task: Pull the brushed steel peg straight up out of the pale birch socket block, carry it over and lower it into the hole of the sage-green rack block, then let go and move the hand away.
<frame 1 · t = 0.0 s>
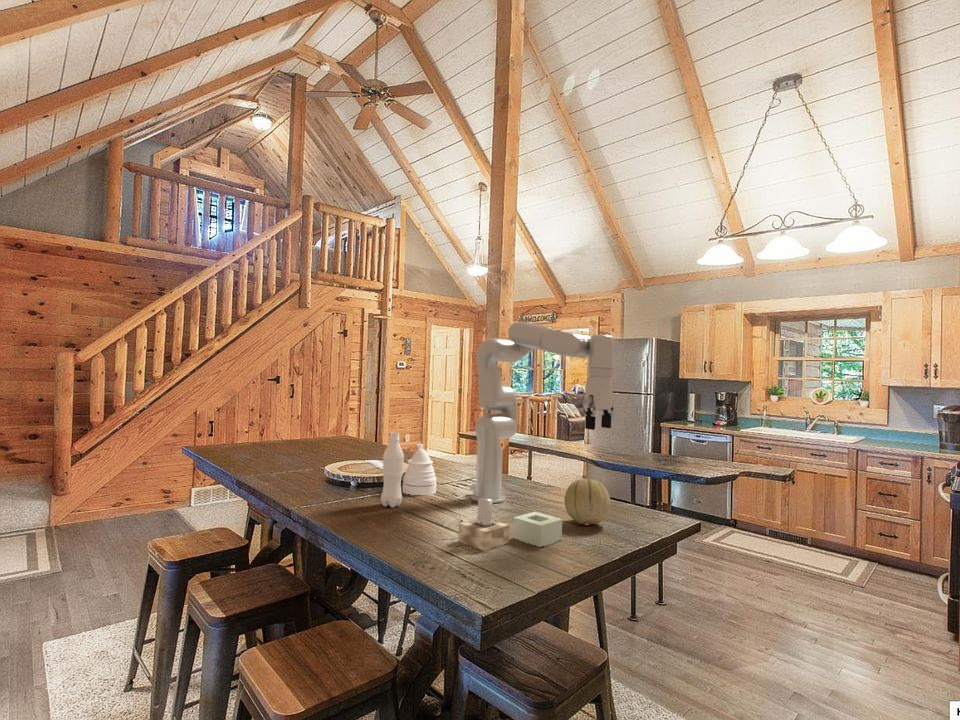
hand: (598, 428, 162), 31 cm above the table, tool pointing down, fingers open, 9 cm apart
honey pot: (419, 492, 199), on the table
rack block: (537, 539, 147), on the table
cantaloupe: (586, 524, 165), on the table
socket block: (483, 542, 143), on the table
steel peg: (484, 520, 143), in the socket block
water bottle: (391, 506, 176), on the table
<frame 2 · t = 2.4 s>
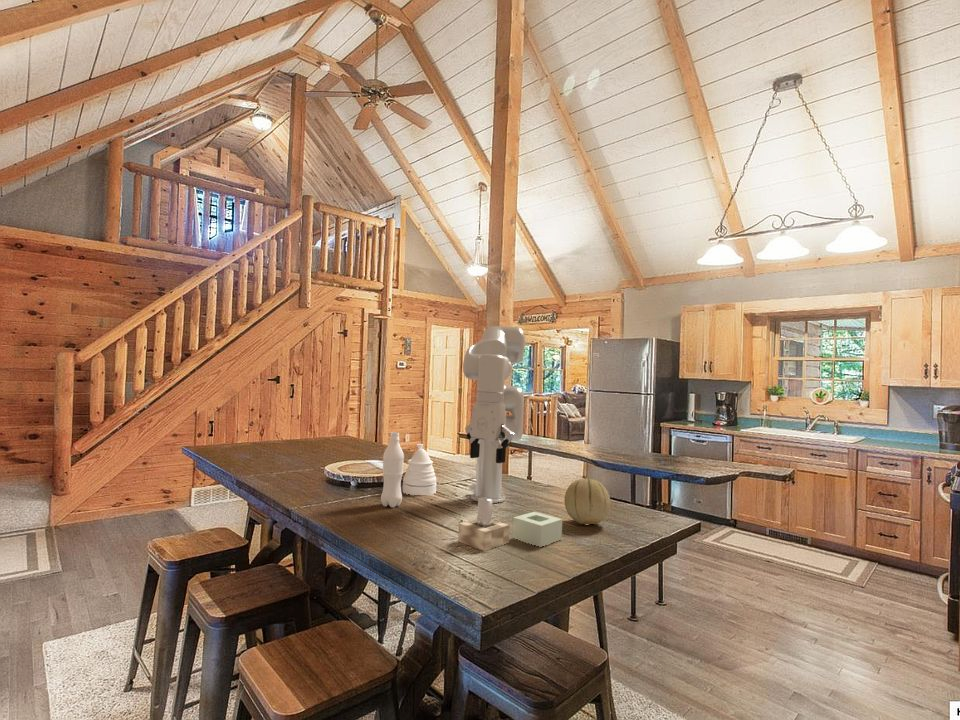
hand: (487, 460, 143), 23 cm above the table, tool pointing down, fingers open, 9 cm apart
nothing on the table moved.
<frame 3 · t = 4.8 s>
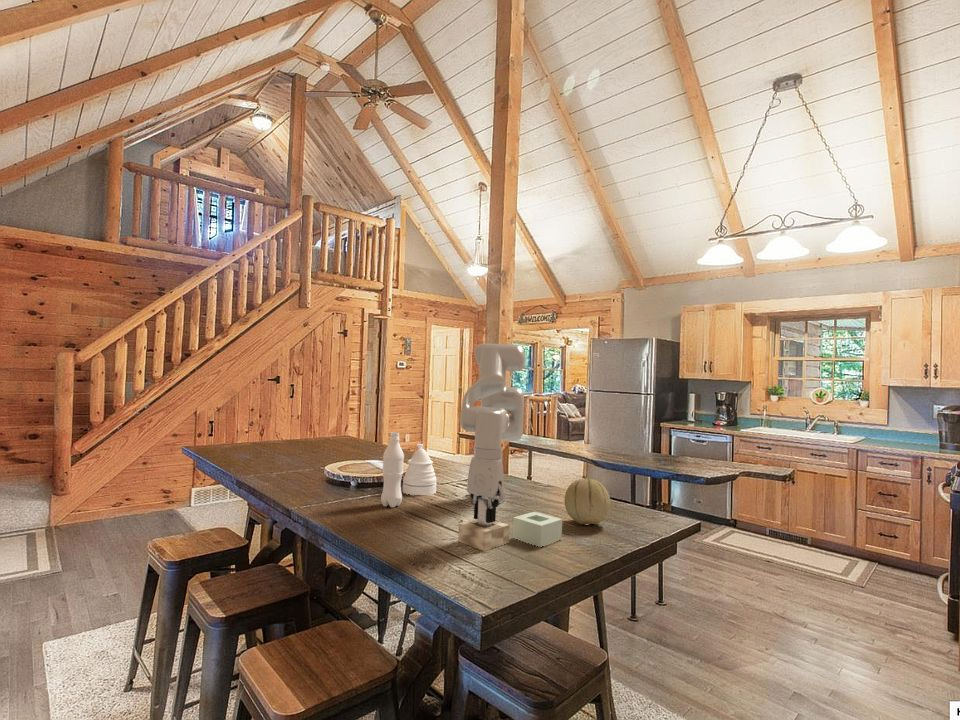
hand: (484, 519, 143), 6 cm above the table, tool pointing down, fingers closed on steel peg, 4 cm apart
steel peg: (484, 520, 143), in the socket block, touching gripper
everything else where it was.
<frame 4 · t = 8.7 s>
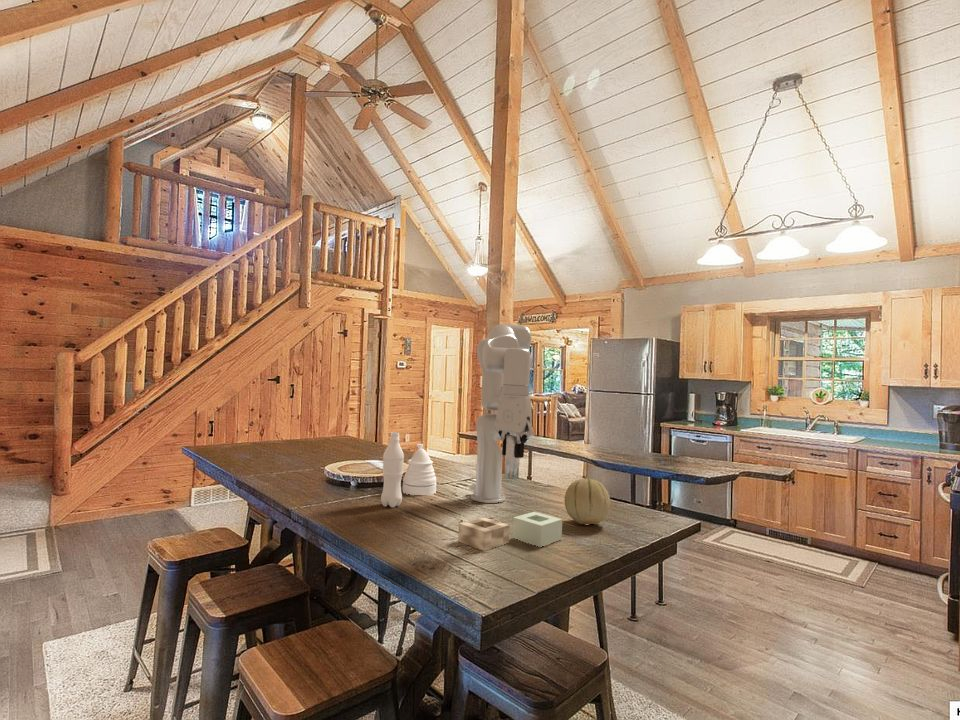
hand: (512, 455, 146), 24 cm above the table, tool pointing down, fingers closed on steel peg, 4 cm apart
steel peg: (512, 456, 146), point 24 cm above the table, touching gripper
everything else where it was.
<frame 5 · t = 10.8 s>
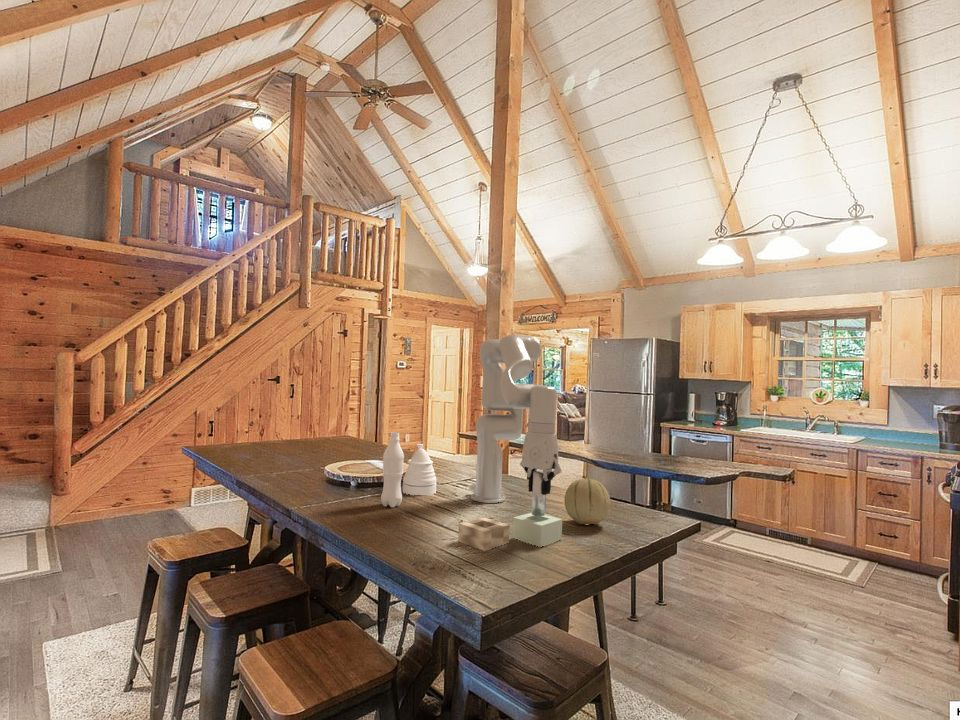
hand: (539, 491, 148), 14 cm above the table, tool pointing down, fingers closed on steel peg, 4 cm apart
steel peg: (539, 492, 148), point 13 cm above the table, touching gripper
everything else where it was.
when the fingers open (9 cm above the table, at t = 12.5 s): steel peg drops 2 cm, resting in rack block.
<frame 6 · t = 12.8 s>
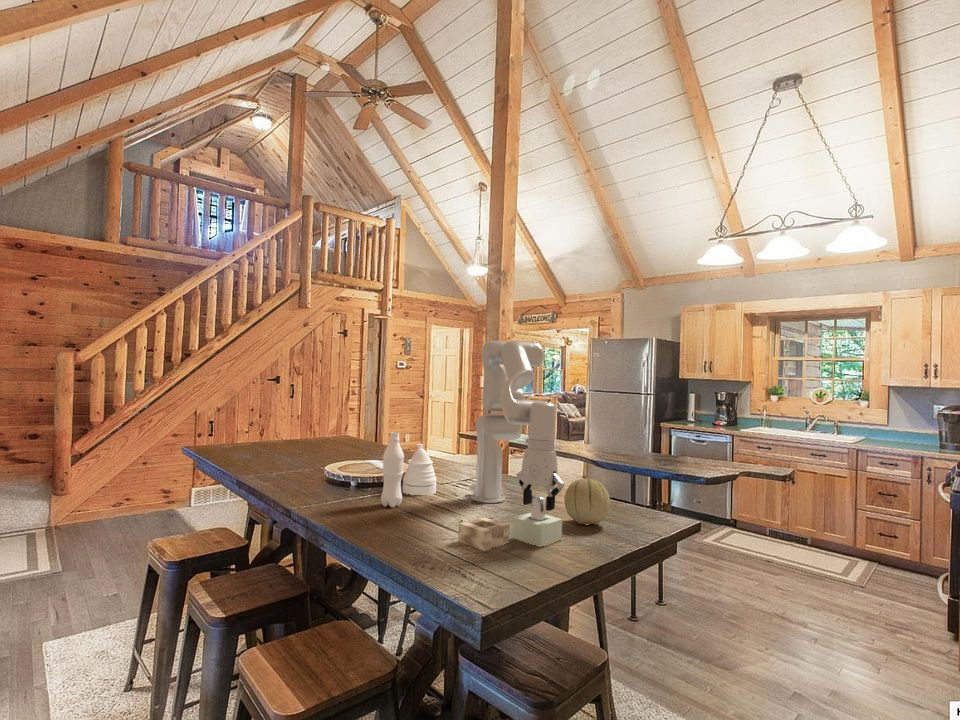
hand: (538, 506, 148), 9 cm above the table, tool pointing down, fingers open, 7 cm apart
steel peg: (537, 518, 148), in the rack block
everything else where it was.
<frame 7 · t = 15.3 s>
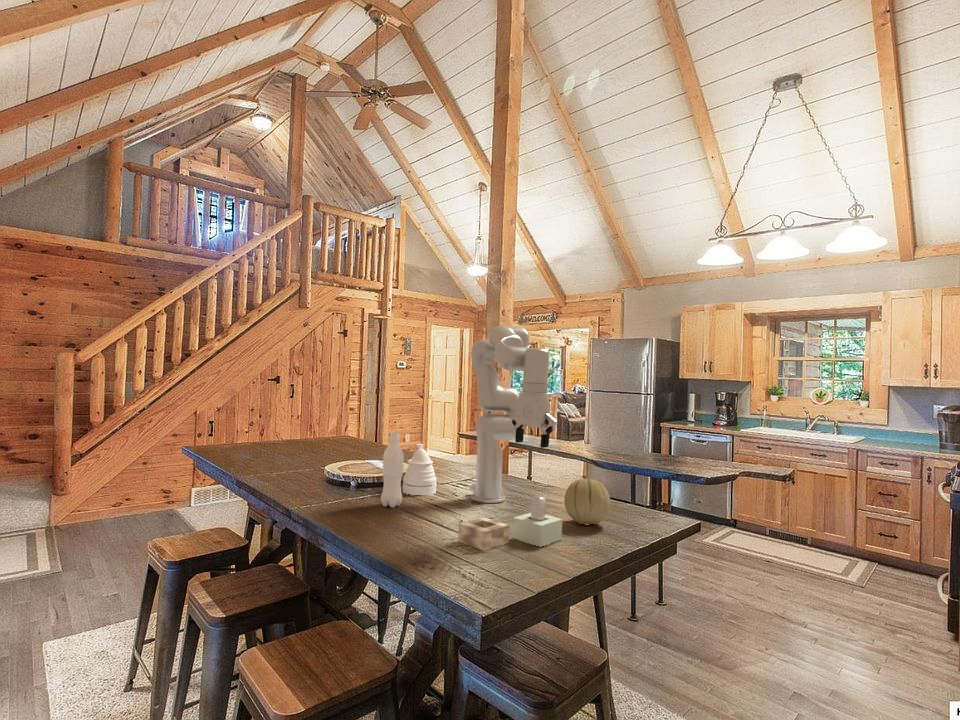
hand: (531, 444, 157), 26 cm above the table, tool pointing down, fingers open, 9 cm apart
nothing on the table moved.
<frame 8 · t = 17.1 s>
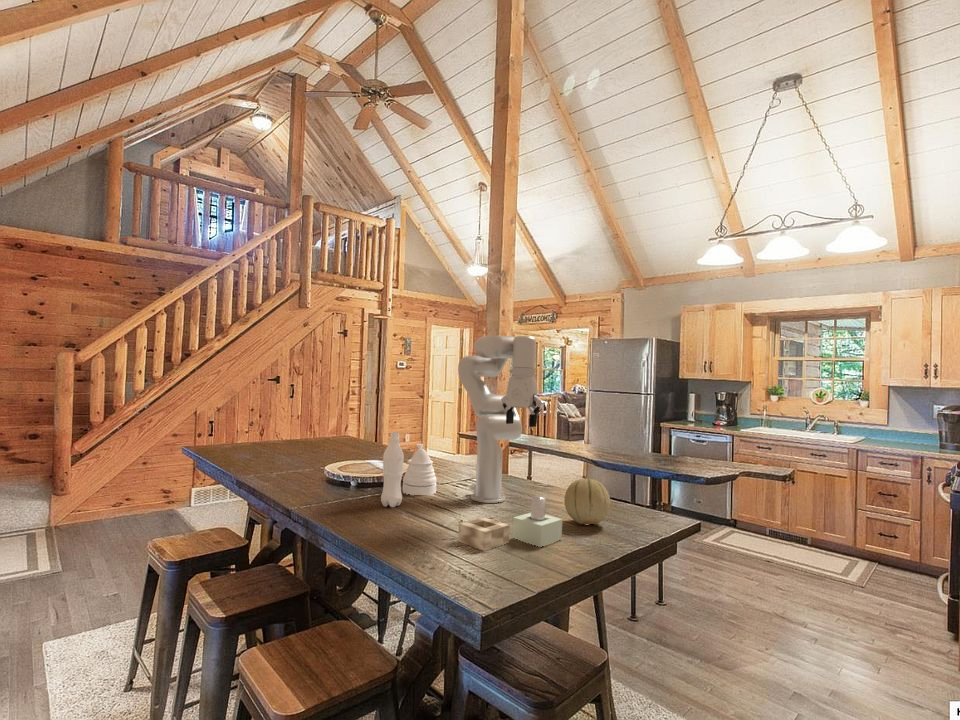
hand: (520, 425, 170), 30 cm above the table, tool pointing down, fingers open, 9 cm apart
nothing on the table moved.
at the end: steel peg 0.1 cm off-centre on the rack block, point 6.0 cm above the rack block's base; steel peg tilted 0°; the gripper is holding nothing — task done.
